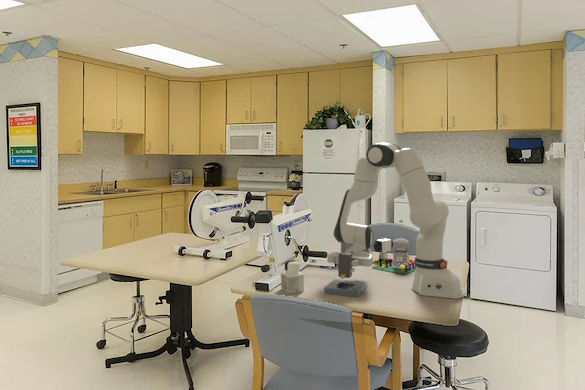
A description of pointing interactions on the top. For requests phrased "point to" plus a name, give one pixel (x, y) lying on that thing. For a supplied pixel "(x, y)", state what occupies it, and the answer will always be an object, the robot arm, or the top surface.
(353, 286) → the plate
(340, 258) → the block
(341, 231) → the robot arm
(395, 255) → the french press
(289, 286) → the container
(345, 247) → the pillar candle
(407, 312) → the top surface
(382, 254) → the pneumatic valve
